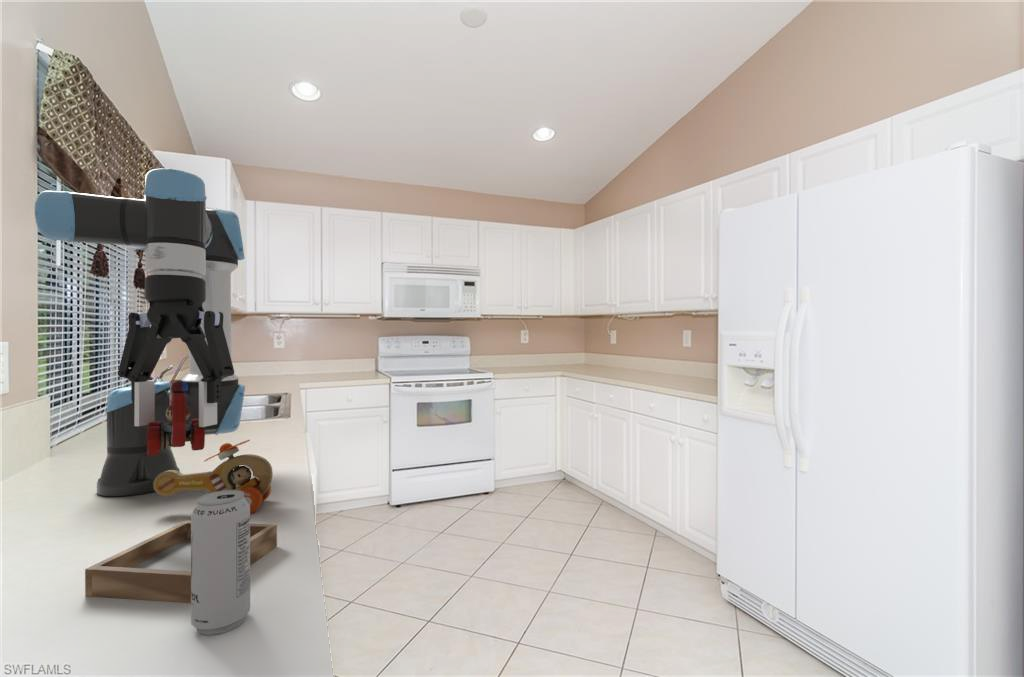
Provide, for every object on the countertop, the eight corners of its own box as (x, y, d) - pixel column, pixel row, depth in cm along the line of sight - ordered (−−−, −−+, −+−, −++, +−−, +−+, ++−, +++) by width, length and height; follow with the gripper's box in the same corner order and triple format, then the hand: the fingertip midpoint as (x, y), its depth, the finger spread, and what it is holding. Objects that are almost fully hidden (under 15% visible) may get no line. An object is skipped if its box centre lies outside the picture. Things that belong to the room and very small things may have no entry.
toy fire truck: (146, 461, 66) (145, 383, 66) (148, 446, 76) (147, 379, 76) (206, 453, 70) (206, 380, 70) (201, 440, 80) (200, 377, 80)
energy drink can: (200, 613, 60) (199, 491, 60) (254, 604, 62) (254, 486, 62) (183, 642, 54) (183, 507, 54) (244, 632, 56) (244, 501, 56)
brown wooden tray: (186, 541, 81) (186, 520, 81) (276, 546, 79) (276, 524, 79) (85, 595, 64) (85, 569, 64) (197, 603, 62) (197, 575, 62)
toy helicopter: (266, 513, 94) (265, 442, 94) (143, 522, 89) (143, 447, 89) (277, 499, 102) (276, 433, 102) (165, 507, 97) (165, 438, 97)
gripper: (85, 275, 71) (85, 428, 70) (226, 270, 68) (226, 430, 68) (132, 281, 78) (132, 420, 78) (261, 277, 75) (261, 421, 75)
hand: (176, 425), depth 73 cm, fingers closed on toy fire truck, 10 cm apart
